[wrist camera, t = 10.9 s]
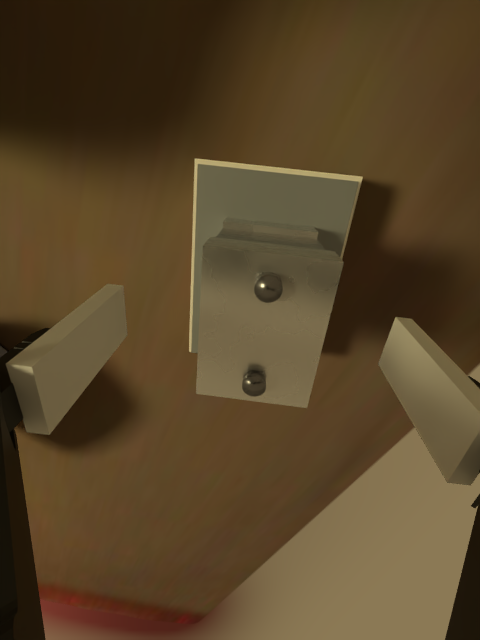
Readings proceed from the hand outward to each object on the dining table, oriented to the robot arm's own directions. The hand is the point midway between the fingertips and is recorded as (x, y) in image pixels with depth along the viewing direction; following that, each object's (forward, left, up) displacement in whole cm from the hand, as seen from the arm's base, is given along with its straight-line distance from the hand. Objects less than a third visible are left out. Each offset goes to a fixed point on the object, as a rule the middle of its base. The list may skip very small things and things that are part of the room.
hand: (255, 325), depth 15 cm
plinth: (0, 0, -13) cm, 13 cm away
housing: (0, 0, -9) cm, 9 cm away
